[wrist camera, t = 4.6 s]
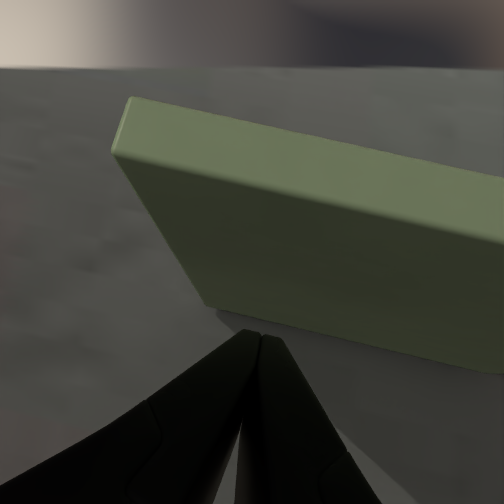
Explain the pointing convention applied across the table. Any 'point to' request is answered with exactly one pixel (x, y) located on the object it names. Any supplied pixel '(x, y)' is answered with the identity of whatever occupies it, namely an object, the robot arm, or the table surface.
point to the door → (324, 232)
